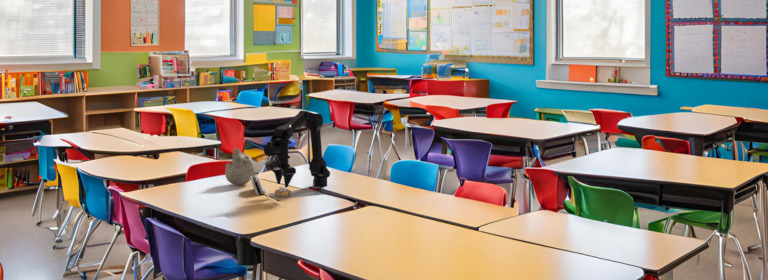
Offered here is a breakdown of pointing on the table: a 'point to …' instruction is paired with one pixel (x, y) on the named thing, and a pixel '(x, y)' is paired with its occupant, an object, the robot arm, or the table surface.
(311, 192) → the base
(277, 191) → the ring
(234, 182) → the grey lumpy stone
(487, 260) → the table surface
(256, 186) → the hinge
